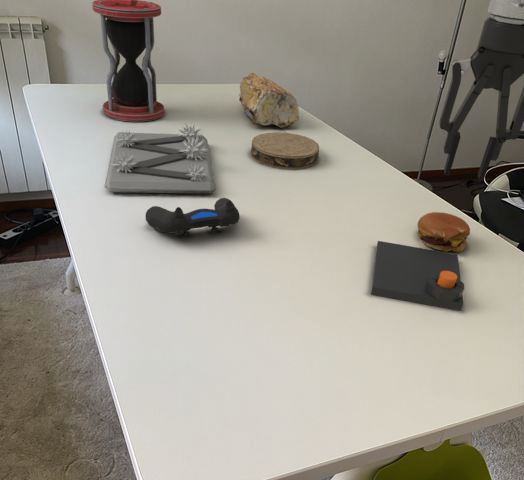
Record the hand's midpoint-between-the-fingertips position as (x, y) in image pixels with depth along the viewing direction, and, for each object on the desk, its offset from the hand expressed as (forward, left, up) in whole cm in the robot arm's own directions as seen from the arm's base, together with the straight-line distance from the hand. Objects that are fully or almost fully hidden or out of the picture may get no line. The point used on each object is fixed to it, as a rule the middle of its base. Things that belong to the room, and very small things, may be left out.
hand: (463, 174), depth 95 cm
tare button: (+1, +20, -10) cm, 23 cm away
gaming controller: (+44, +12, -13) cm, 47 cm away
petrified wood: (+46, -58, -13) cm, 75 cm away
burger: (0, 0, -13) cm, 13 cm away
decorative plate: (+60, -13, -13) cm, 63 cm away
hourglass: (+80, -46, -13) cm, 93 cm away
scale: (+5, +15, -13) cm, 20 cm away
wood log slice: (+36, -31, -13) cm, 49 cm away
